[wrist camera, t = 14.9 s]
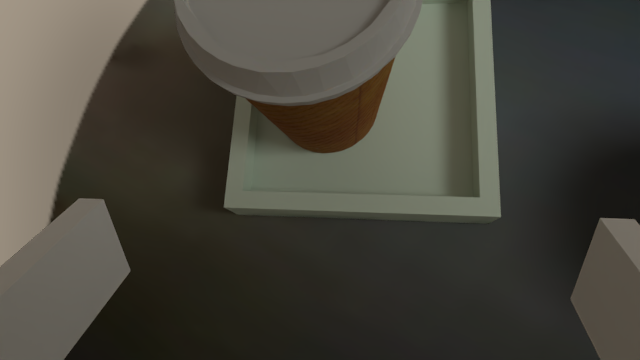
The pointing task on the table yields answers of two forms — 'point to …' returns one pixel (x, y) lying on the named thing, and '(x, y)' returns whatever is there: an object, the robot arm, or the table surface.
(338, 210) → the tray
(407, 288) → the table surface
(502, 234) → the table surface
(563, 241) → the table surface
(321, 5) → the disposable coffee cup
